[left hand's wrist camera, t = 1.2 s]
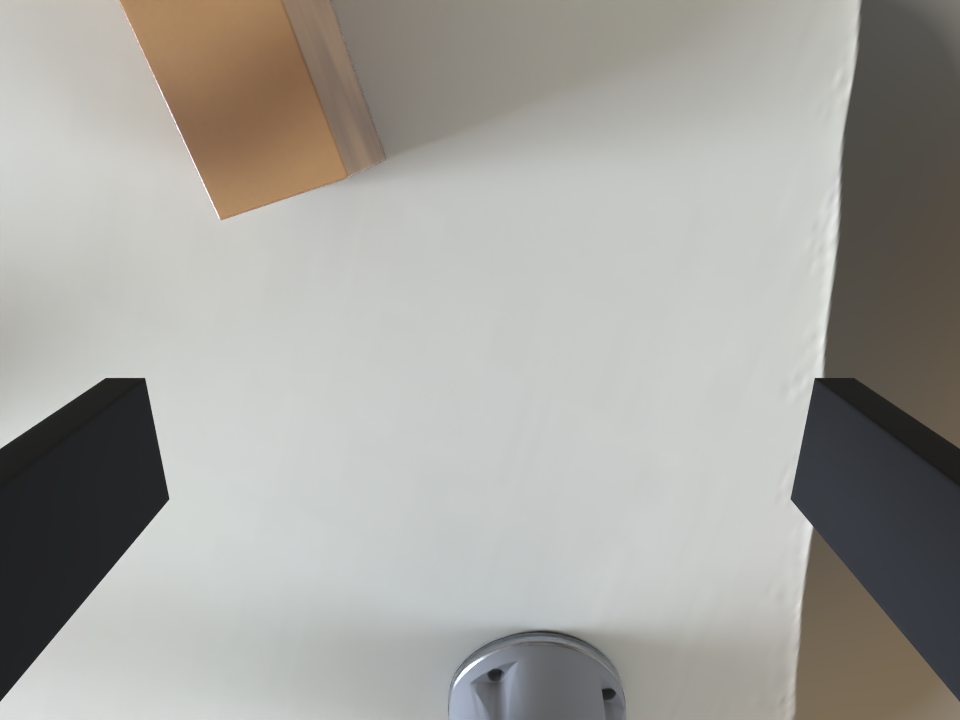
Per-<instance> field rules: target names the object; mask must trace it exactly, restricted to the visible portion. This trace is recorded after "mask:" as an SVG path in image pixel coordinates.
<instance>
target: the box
mask: <svg viewBox="0 0 960 720" xmlns="http://www.w3.org/2000/svg"><path fill="white" fill-rule="evenodd" d="M119 2H120V4H121V7H122V9H123V11H124V13H125V15H126V17H127V20H128V22H129V24H130V26H131V28H132V30H133V33H134V35H135V37H136V39H137V41H138V43H139V46H140V48H141V50H142V52H143V54H144V56H145V59H146V61H147V63H148V65H149V67H150V70H151V72H152V74H153V76H154V78H155V80H156V83H157V85H158V87H159V89H160V91H161V93H162V96H163V98H164V100H165V102H166V104H167V106H168V109H169V111H170V113H171V115H172V117H173V119H174V122H175V124H176V126H177V128H178V130H179V132H180V135H181V137H182V139H183V141H184V143H185V146H186V148H187V150H188V152H189V154H190V156H191V159H192V161H193V163H194V165H195V167H196V169H197V172H198V174H199V176H200V178H201V180H202V182H203V185H204V187H205V189H206V191H207V193H208V195H209V198H210V200H211V202H212V204H213V206H214V209H215V211H216V213H217V215H218V217H219V219H220V220H223V219H226V218H229V217H232V216H235V215H238V214H241V213H244V212H247V211H250V210H253V209H256V208H259V207H262V206H265V205H268V204H271V203H274V202H277V201H280V200H283V199H286V198H289V197H292V196H295V195H298V194H301V193H304V192H307V191H310V190H313V189H316V188H319V187H322V186H325V185H328V184H331V183H334V182H337V181H340V180H343V179H346V178H349V177H351V176H353V175H355V174H357V173H359V172H361V171H363V170H365V169H367V168H369V167H372V166H374V165H376V164H378V163H380V162H382V161H384V160H385V159H386V158H385V155H384V152H383V149H382V147H381V144H380V141H379V138H378V135H377V132H376V130H375V127H374V124H373V121H372V118H371V115H370V112H369V110H368V107H367V104H366V101H365V98H364V95H363V93H362V90H361V87H360V84H359V81H358V78H357V76H356V73H355V70H354V67H353V64H352V61H351V59H350V56H349V53H348V50H347V47H346V44H345V42H344V39H343V36H342V33H341V30H340V27H339V25H338V22H337V19H336V16H335V13H334V10H333V7H332V5H331V2H330V0H119Z"/></svg>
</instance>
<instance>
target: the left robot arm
mask: <svg viewBox="0 0 960 720" xmlns="http://www.w3.org/2000/svg"><path fill="white" fill-rule="evenodd" d="M168 500H169V495H168V490H167V485H166V480H165V475H164V470H163V465H162V460H161V455H160V450H159V445H158V440H157V435H156V430H155V425H154V420H153V415H152V410H151V405H150V400H149V395H148V390H147V385H146V380H145V378H105V379H104V380H102V381H101V382H99V383H98V384H96V385H95V386H93V387H92V388H90V389H89V390H87V391H86V392H84V393H83V394H81V395H80V396H79V397H77V398H76V399H74V400H73V401H71V402H70V403H68V404H67V405H65V406H64V407H62V408H61V409H59V410H58V411H56V412H55V413H53V414H52V415H50V416H49V417H47V418H46V419H44V420H43V421H41V422H40V423H38V424H37V425H35V426H34V427H32V428H31V429H29V430H28V431H26V432H25V433H23V434H22V435H20V436H19V437H17V438H16V439H14V440H13V441H11V442H10V443H8V444H7V445H5V446H4V447H2V448H1V449H0V701H1V700H2V699H3V698H4V696H5V695H6V694H7V693H8V692H9V690H10V689H11V688H12V687H13V686H14V684H15V683H16V682H17V681H18V680H19V678H20V677H21V676H22V675H23V674H24V672H25V671H26V670H27V669H28V668H29V666H30V665H31V664H32V663H33V662H34V661H35V659H36V658H37V657H38V656H39V655H40V653H41V652H42V651H43V650H44V649H45V647H46V646H47V645H48V644H49V643H50V641H51V640H52V639H53V638H54V637H55V635H56V634H57V633H58V632H59V631H60V629H61V628H62V627H63V626H64V625H65V623H66V622H67V621H68V620H69V619H70V617H71V616H72V615H73V614H74V613H75V611H76V610H77V609H78V608H79V607H80V605H81V604H82V603H83V602H84V601H85V599H86V598H87V597H88V596H89V595H90V593H91V592H92V591H93V590H94V589H95V588H96V586H97V585H98V584H99V583H100V582H101V580H102V579H103V578H104V577H105V576H106V574H107V573H108V572H109V571H110V570H111V568H112V567H113V566H114V565H115V564H116V562H117V561H118V560H119V559H120V558H121V556H122V555H123V554H124V553H125V552H126V550H127V549H128V548H129V547H130V546H131V544H132V543H133V542H134V541H135V540H136V538H137V537H138V536H139V535H140V534H141V532H142V531H143V530H144V529H145V528H146V526H147V525H148V524H149V523H150V522H151V520H152V519H153V518H154V517H155V516H156V515H157V513H158V512H159V511H160V510H161V509H162V507H163V506H164V505H165V504H166V503H167V501H168ZM791 500H792V501H793V503H794V504H795V505H796V506H797V507H798V509H799V510H800V511H801V512H802V513H803V515H804V516H805V517H806V518H807V519H808V520H809V522H810V523H811V524H812V525H813V526H814V528H815V529H816V530H817V531H818V532H819V534H820V535H821V536H822V537H823V538H824V540H825V541H826V542H827V543H828V544H829V546H830V547H831V548H832V549H833V550H834V552H835V553H836V554H837V555H838V556H839V558H840V559H841V560H842V561H843V562H844V563H845V565H846V566H847V567H848V568H849V570H850V571H851V572H852V573H853V574H854V576H855V577H856V578H857V579H858V580H859V581H860V583H861V584H862V585H863V586H864V587H865V589H866V590H867V591H868V592H869V593H870V595H871V596H872V597H873V598H874V599H875V601H876V602H877V603H878V604H879V605H880V607H881V608H882V609H883V610H884V611H885V613H886V614H887V615H888V616H889V617H890V619H891V620H892V621H893V622H894V623H895V625H896V626H897V627H898V628H899V629H900V631H901V632H902V633H903V634H904V635H905V637H906V638H907V639H908V640H909V641H910V643H911V644H912V645H913V646H914V647H915V648H916V650H917V651H918V652H919V653H920V655H921V656H922V657H923V658H924V659H925V661H926V662H927V663H928V664H929V665H930V666H931V668H932V669H933V670H934V671H935V672H936V674H937V675H938V676H939V677H940V678H941V680H942V681H943V682H944V683H945V684H946V686H947V687H948V688H949V689H950V690H951V692H952V693H953V694H954V695H955V696H956V698H957V699H958V700H959V701H960V449H959V448H958V447H956V446H955V445H953V444H952V443H950V442H949V441H947V440H946V439H944V438H943V437H941V436H940V435H938V434H937V433H935V432H934V431H932V430H931V429H929V428H928V427H926V426H925V425H923V424H922V423H920V422H919V421H917V420H916V419H914V418H913V417H911V416H910V415H908V414H907V413H905V412H904V411H902V410H901V409H899V408H898V407H896V406H895V405H893V404H892V403H890V402H889V401H887V400H886V399H884V398H883V397H881V396H880V395H878V394H877V393H875V392H874V391H872V390H871V389H869V388H868V387H867V386H865V385H864V384H862V383H861V382H859V381H858V380H856V379H855V378H815V380H814V385H813V390H812V395H811V400H810V405H809V410H808V415H807V420H806V425H805V430H804V435H803V440H802V445H801V450H800V455H799V460H798V465H797V470H796V475H795V480H794V485H793V490H792V495H791ZM448 716H449V720H626V705H625V697H624V692H623V688H622V684H621V681H620V678H619V675H618V673H617V671H616V669H615V668H614V666H613V665H612V663H611V662H610V661H609V660H608V659H607V658H606V657H605V656H604V655H603V654H602V653H601V652H599V651H598V650H597V649H595V648H593V647H592V646H590V645H588V644H586V643H584V642H582V641H580V640H577V639H575V638H572V637H568V636H564V635H560V634H553V633H541V632H539V633H522V634H517V635H512V636H508V637H504V638H501V639H498V640H496V641H493V642H491V643H489V644H487V645H485V646H483V647H482V648H480V649H479V650H477V651H475V652H474V653H473V654H472V655H470V656H469V657H468V658H467V659H466V660H465V661H464V662H463V663H462V665H461V666H460V667H459V669H458V670H457V672H456V673H455V675H454V677H453V680H452V683H451V686H450V690H449V704H448Z"/></svg>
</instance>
